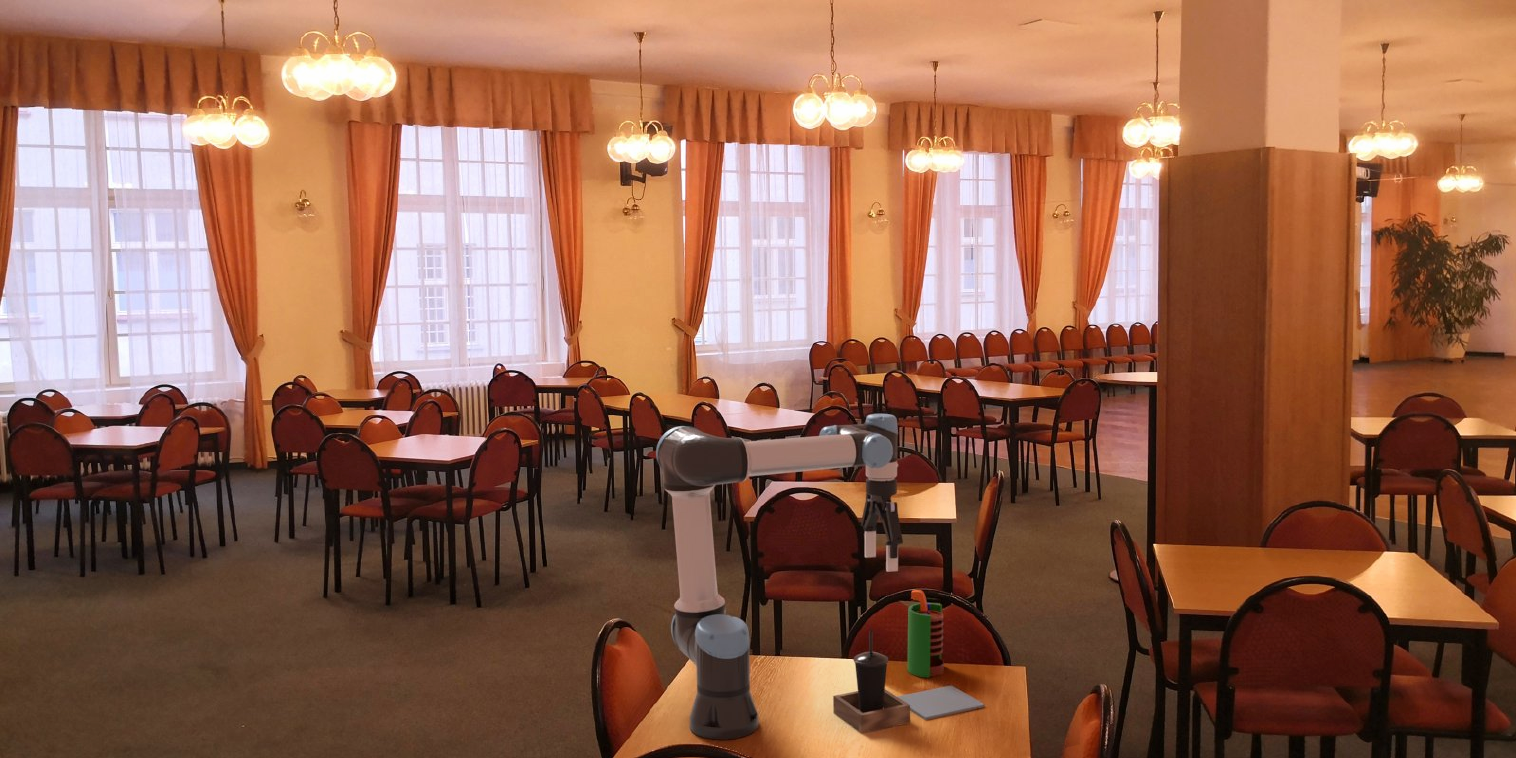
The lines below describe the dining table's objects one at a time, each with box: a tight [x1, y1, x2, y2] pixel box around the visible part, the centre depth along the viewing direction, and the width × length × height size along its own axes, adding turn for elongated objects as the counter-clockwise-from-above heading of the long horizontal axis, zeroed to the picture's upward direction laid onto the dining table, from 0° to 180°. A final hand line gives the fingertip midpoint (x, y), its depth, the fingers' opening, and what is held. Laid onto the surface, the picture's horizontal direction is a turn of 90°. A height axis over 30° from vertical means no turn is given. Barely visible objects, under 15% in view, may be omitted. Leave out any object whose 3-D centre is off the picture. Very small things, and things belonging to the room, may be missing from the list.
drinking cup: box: [853, 629, 889, 713], centre depth 248 cm, size 8×8×20 cm
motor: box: [907, 589, 945, 679], centre depth 277 cm, size 10×9×20 cm
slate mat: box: [897, 685, 986, 721], centre depth 257 cm, size 16×13×1 cm
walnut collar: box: [832, 689, 911, 734], centre depth 249 cm, size 12×12×4 cm
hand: (880, 563), depth 272 cm, fingers open, 13 cm apart
